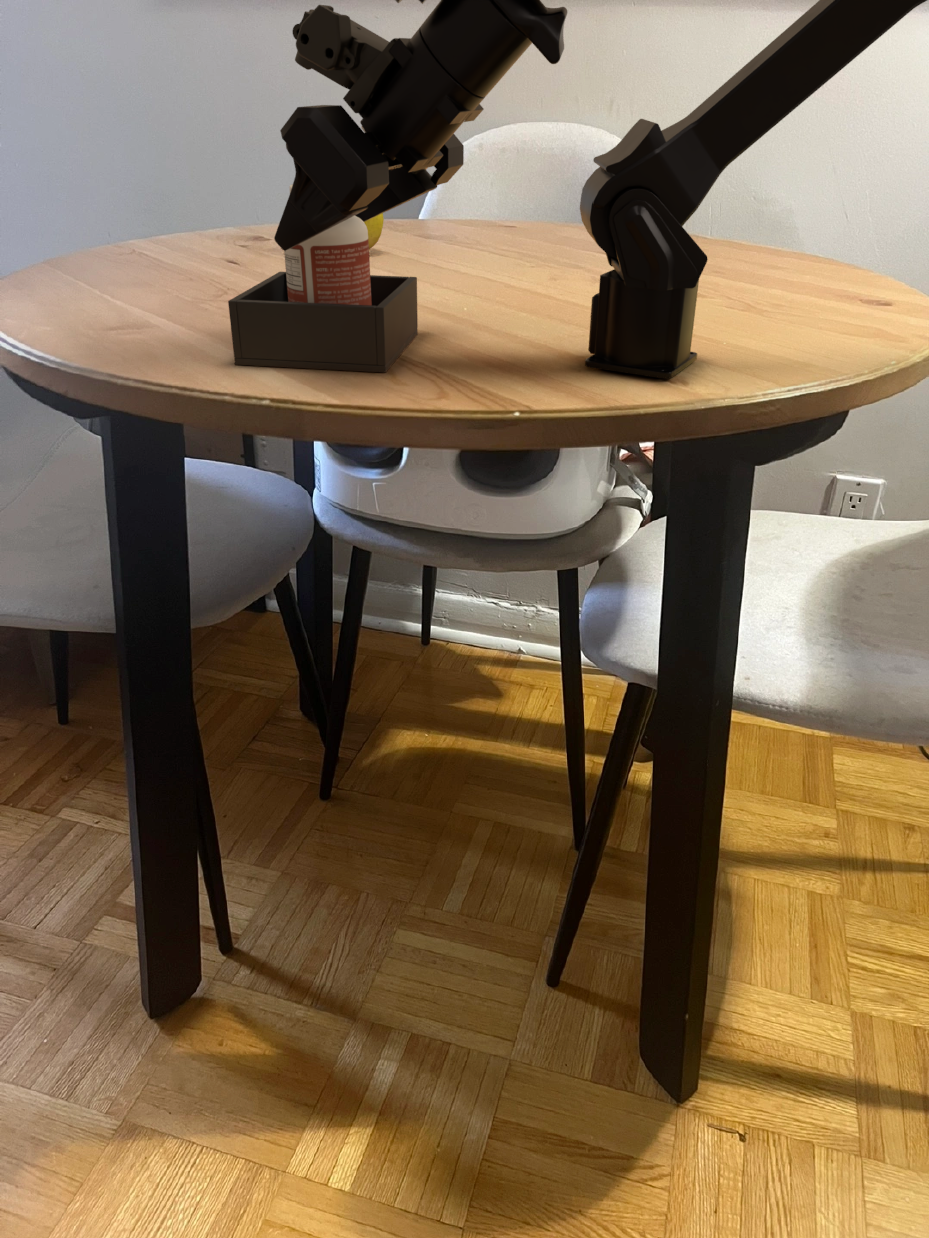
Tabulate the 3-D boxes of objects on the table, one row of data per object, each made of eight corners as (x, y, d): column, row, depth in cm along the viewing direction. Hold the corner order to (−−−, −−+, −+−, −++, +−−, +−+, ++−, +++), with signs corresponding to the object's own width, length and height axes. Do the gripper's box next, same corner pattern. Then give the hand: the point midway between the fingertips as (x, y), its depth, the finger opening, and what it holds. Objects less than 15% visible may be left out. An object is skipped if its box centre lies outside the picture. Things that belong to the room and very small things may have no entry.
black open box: (417, 335, 80) (417, 277, 77) (385, 373, 70) (383, 307, 68) (284, 328, 81) (279, 271, 79) (234, 364, 72) (227, 300, 69)
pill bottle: (385, 336, 77) (380, 181, 72) (354, 356, 72) (346, 190, 67) (312, 330, 79) (301, 178, 73) (277, 349, 74) (263, 187, 68)
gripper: (422, -31, 70) (294, 138, 78) (298, -57, 54) (156, 156, 63) (525, 97, 71) (389, 249, 80) (433, 107, 56) (277, 293, 65)
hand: (310, 235), depth 72 cm, fingers open, 9 cm apart
